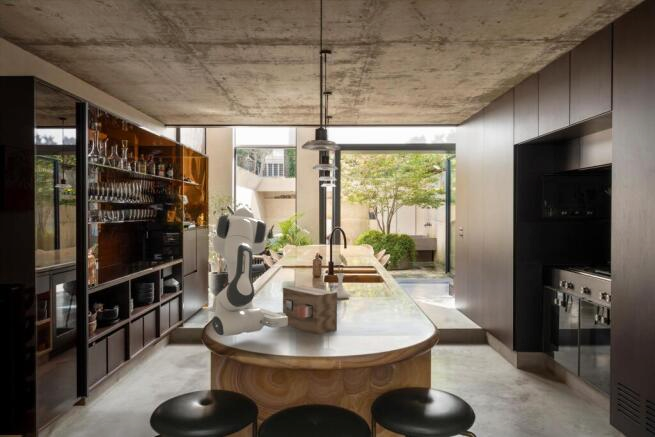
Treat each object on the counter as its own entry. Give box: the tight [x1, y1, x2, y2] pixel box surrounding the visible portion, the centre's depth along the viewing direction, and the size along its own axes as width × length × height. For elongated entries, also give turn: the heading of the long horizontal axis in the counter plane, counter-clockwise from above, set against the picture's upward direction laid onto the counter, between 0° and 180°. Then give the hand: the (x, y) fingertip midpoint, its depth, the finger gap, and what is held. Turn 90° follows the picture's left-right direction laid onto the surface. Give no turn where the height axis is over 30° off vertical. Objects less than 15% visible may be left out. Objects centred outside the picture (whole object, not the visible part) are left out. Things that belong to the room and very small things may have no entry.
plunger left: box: [286, 300, 293, 311], centre depth 223 cm, size 8×4×4 cm, turn 130°
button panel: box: [282, 285, 338, 335], centre depth 219 cm, size 11×24×16 cm, turn 40°
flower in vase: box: [332, 253, 351, 300], centre depth 289 cm, size 13×11×25 cm
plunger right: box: [298, 305, 313, 318], centre depth 210 cm, size 8×4×4 cm, turn 130°
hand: (283, 314), depth 202 cm, fingers closed
